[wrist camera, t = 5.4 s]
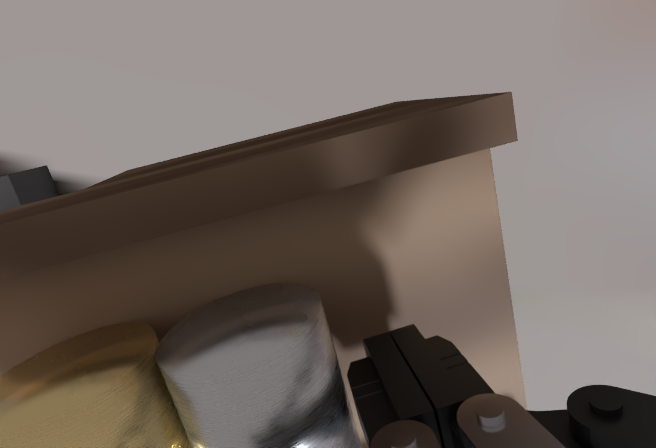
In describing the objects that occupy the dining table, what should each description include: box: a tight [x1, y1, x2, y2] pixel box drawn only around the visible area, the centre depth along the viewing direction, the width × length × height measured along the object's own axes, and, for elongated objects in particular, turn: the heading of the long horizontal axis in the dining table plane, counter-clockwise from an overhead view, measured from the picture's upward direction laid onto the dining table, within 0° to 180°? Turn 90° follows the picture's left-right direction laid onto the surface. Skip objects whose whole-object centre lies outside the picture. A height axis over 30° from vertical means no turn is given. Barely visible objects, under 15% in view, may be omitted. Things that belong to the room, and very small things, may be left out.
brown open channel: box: [0, 92, 527, 448], centre depth 16 cm, size 12×17×10 cm
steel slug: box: [156, 283, 363, 448], centre depth 11 cm, size 5×4×4 cm
